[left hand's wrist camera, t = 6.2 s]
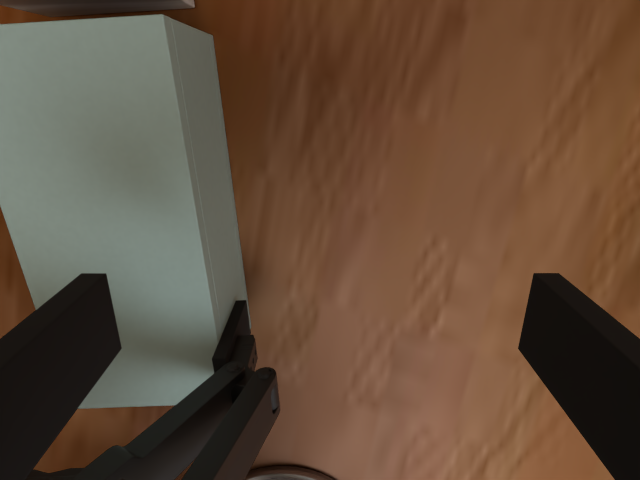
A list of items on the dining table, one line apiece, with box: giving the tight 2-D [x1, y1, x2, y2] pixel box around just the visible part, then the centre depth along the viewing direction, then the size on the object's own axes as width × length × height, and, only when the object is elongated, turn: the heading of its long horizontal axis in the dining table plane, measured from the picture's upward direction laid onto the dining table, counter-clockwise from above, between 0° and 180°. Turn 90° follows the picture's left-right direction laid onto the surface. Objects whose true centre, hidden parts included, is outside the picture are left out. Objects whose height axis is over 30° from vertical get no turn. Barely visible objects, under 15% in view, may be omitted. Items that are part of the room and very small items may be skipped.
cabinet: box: [0, 14, 251, 409], centre depth 26 cm, size 21×10×9 cm, turn 3°
